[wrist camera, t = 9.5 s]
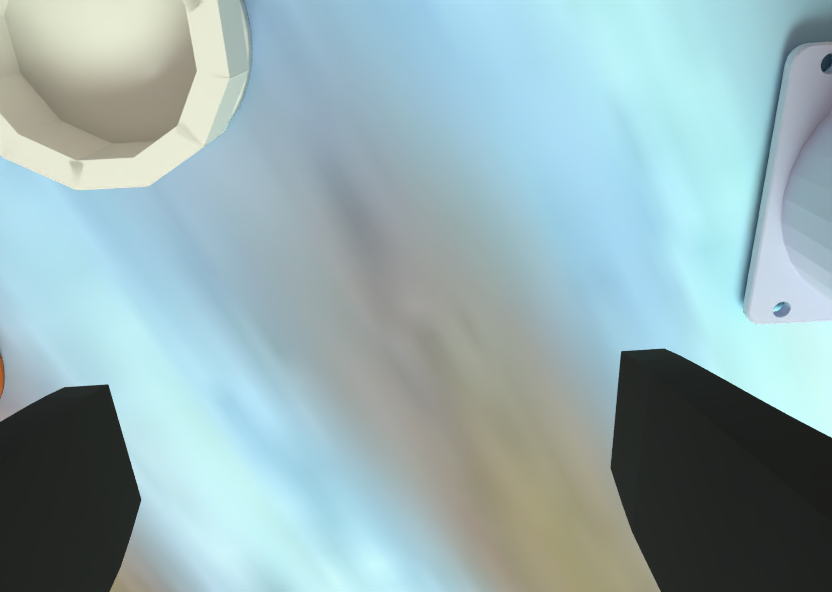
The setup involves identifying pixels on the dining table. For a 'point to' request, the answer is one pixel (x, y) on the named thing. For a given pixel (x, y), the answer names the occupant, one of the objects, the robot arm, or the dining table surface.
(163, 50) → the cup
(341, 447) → the dining table surface
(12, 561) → the robot arm
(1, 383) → the coffee cup
